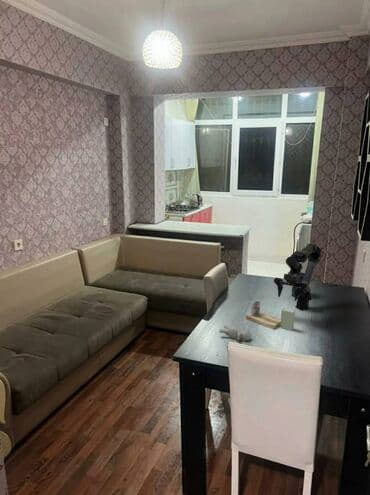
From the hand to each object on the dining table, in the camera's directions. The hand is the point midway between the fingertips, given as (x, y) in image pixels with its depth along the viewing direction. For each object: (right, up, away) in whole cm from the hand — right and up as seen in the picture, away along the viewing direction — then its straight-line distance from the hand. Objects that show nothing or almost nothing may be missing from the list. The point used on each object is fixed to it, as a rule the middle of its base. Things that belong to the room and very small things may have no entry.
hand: (286, 298), depth 196 cm
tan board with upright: (-11, -13, +3) cm, 17 cm away
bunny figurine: (-30, -17, -16) cm, 38 cm away
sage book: (-1, -15, -6) cm, 16 cm away
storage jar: (+20, -4, +43) cm, 48 cm away
